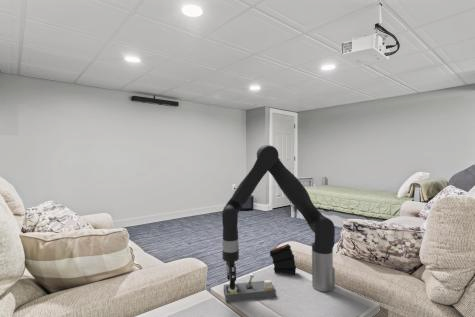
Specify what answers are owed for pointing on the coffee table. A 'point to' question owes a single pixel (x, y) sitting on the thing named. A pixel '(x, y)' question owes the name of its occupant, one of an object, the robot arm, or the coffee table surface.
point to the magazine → (283, 260)
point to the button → (232, 289)
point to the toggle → (251, 278)
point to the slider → (267, 284)
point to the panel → (249, 291)
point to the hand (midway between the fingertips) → (231, 283)
